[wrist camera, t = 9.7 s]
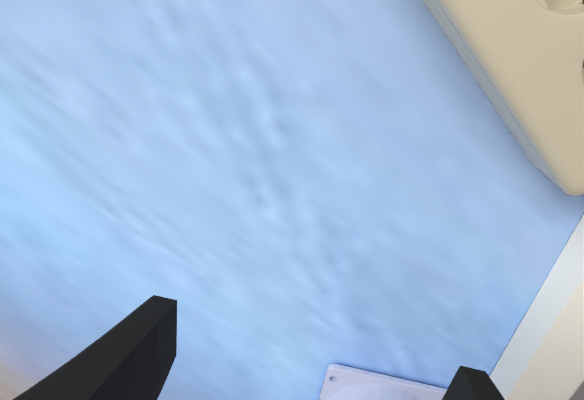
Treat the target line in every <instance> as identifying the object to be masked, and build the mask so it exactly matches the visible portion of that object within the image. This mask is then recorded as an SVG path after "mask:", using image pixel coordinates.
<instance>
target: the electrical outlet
mask: <svg viewBox="0 0 584 400" xmlns="http://www.w3.org/2000/svg"><path fill="white" fill-rule="evenodd" d="M422 1H423V2H424V4H425V5H426V7H427V8H428V10H429V11H430V13H431V14H432V16H433V17H434V19H435V20H436V22H437V23H438V25H439V26H440V28H441V29H442V31H443V32H444V34H445V35H446V37H447V38H448V40H449V41H450V43H451V44H452V46H453V47H454V49H455V50H456V52H457V53H458V55H459V56H460V58H461V59H462V61H463V62H464V64H465V65H466V67H467V68H468V70H469V71H470V73H471V74H472V76H473V77H474V79H475V80H476V82H477V83H478V85H479V86H480V88H481V89H482V91H483V92H484V94H485V95H486V97H487V98H488V100H489V101H490V103H491V104H492V106H493V107H494V109H495V110H496V112H497V113H498V115H499V116H500V118H501V119H502V121H503V122H504V124H505V125H506V127H507V128H508V130H509V131H510V133H511V134H512V136H513V137H514V139H515V140H516V142H517V143H518V145H519V146H520V148H521V149H522V151H523V152H524V154H525V155H526V157H527V158H528V160H529V161H530V162H531V163H532V164H533V165H534V166H536V167H537V168H538V169H539V170H540V171H541V172H542V173H543V174H545V175H546V176H547V177H548V178H549V179H550V180H551V181H552V182H553V183H555V184H556V185H557V186H558V187H559V188H560V189H561V190H563V191H564V192H565V193H566V194H567V195H571V196H580V195H583V194H584V0H422Z"/></svg>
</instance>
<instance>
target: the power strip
mask: <svg viewBox="0 0 584 400" xmlns="http://www.w3.org/2000/svg"><path fill="white" fill-rule="evenodd" d="M489 377H490V379H491V380H492V381H493V383H494V384H495V386H496V387H497V389H498V390H499V392H500V393H501V395H502V396H503V397H504V399H505V400H584V214H583V216H582V218H581V220H580V221H579V223H578V225H577V227H576V228H575V230H574V232H573V233H572V235H571V237H570V239H569V240H568V242H567V244H566V245H565V247H564V249H563V251H562V252H561V254H560V256H559V258H558V259H557V261H556V263H555V264H554V266H553V268H552V270H551V271H550V273H549V275H548V276H547V278H546V280H545V282H544V283H543V285H542V287H541V289H540V290H539V292H538V294H537V295H536V297H535V299H534V301H533V302H532V304H531V306H530V307H529V309H528V311H527V313H526V314H525V316H524V318H523V320H522V321H521V323H520V325H519V326H518V328H517V330H516V332H515V333H514V335H513V337H512V338H511V340H510V342H509V344H508V345H507V347H506V349H505V350H504V352H503V354H502V356H501V357H500V359H499V361H498V363H497V364H496V366H495V368H494V369H493V371H492V373H491V375H490V376H489Z"/></svg>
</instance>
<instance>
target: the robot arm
mask: <svg viewBox="0 0 584 400" xmlns="http://www.w3.org/2000/svg"><path fill="white" fill-rule="evenodd" d="M176 335H177V300H173V299H168V298H164V297H160V296H155V295H154V296H152V297H150V298H149V299H148V300H147V301H145V302H144V303H143V304H142V305H140V306H139V307H138V308H137V309H136V310H134V311H133V312H132V313H131V314H129V315H128V316H127V317H126V318H125V319H123V320H122V321H121V322H120V323H118V324H117V325H116V326H114V327H113V328H112V329H111V330H109V331H108V332H107V333H106V334H104V335H103V336H102V337H100V338H99V339H98V340H96V341H95V342H94V343H92V344H91V345H90V346H88V347H87V348H86V349H84V350H83V351H82V352H81V353H79V354H78V355H77V356H75V357H74V358H72V359H71V360H70V361H68V362H67V363H66V364H64V365H63V366H61V367H60V368H58V369H57V370H56V371H54V372H53V373H51V374H50V375H48V376H47V377H45V378H44V379H43V380H41V381H40V382H38V383H37V384H35V385H34V386H33V387H31V388H30V389H28V390H27V391H25V392H24V393H22V394H20V395H19V396H17V397H16V398H14V399H13V400H157V398H158V396H159V395H160V392H161V390H162V388H163V385H164V383H165V381H166V378H167V376H168V374H169V371H170V369H171V367H172V364H173V362H174V359H175V357H176ZM333 376H334V377H333ZM319 400H505V399H504V397H503V396H502V395H501V393H500V392H499V390H498V389H497V387H496V386H495V384H494V383H493V381H492V380H491V379H490V377H489V376H488V374H487V373H486V372H485V371H481V370H476V369H472V368H468V367H463V366H460V367H459V369H458V371H457V372H456V374H455V376H454V378H453V380H452V382H451V384H450V385H449V387H448V389H444V388H440V387H436V386H431V385H427V384H422V383H418V382H414V381H409V380H405V379H400V378H396V377H392V376H387V375H383V374H378V373H374V372H369V371H365V370H361V369H356V368H352V367H347V366H343V365H339V364H331V365H329V366H328V368H327V371H326V375H325V379H324V382H323V386H322V390H321V393H320V397H319Z"/></svg>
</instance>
